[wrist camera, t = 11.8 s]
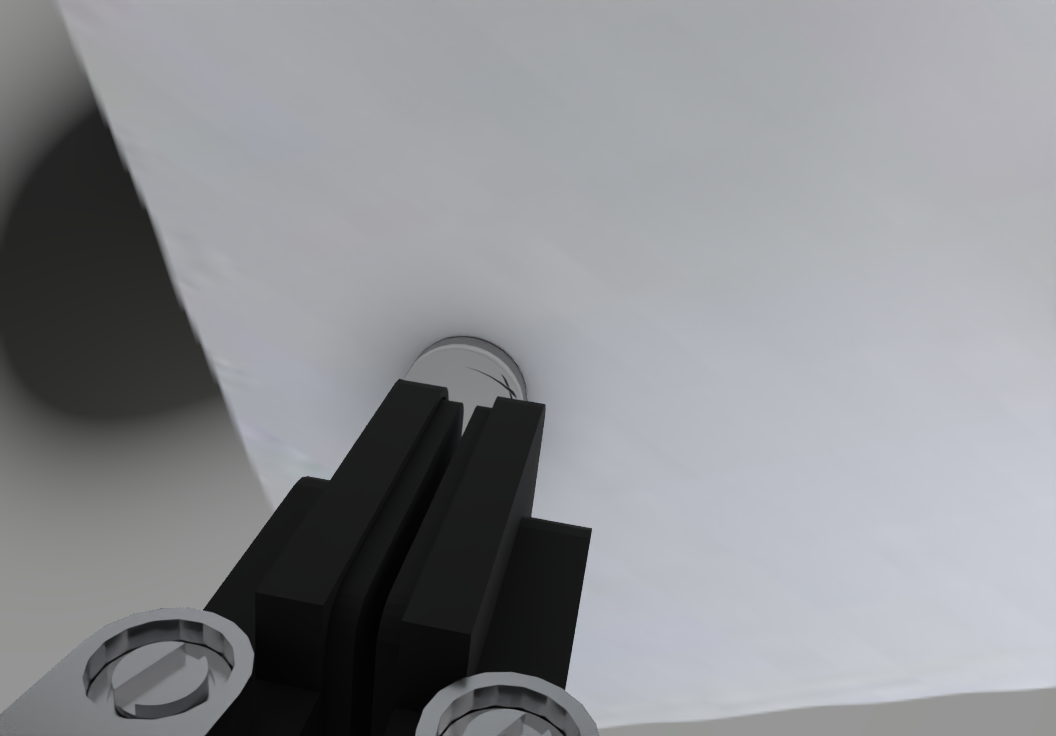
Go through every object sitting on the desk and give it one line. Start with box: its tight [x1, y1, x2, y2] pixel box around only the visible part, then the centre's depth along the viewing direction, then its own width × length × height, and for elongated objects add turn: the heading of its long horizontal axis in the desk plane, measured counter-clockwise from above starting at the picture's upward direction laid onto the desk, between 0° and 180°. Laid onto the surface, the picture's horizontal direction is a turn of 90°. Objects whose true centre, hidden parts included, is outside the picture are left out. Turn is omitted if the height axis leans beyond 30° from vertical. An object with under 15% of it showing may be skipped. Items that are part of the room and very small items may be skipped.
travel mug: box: [403, 337, 527, 435], centre depth 41 cm, size 6×7×20 cm
